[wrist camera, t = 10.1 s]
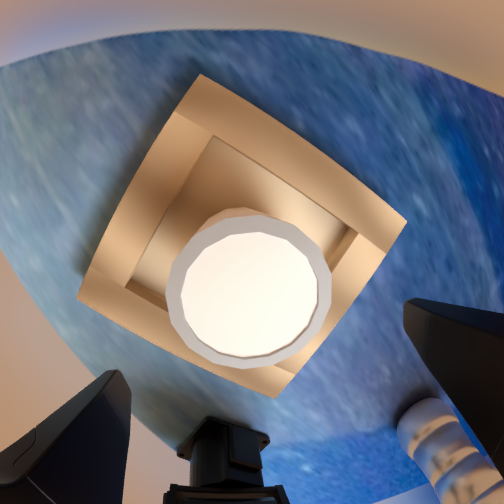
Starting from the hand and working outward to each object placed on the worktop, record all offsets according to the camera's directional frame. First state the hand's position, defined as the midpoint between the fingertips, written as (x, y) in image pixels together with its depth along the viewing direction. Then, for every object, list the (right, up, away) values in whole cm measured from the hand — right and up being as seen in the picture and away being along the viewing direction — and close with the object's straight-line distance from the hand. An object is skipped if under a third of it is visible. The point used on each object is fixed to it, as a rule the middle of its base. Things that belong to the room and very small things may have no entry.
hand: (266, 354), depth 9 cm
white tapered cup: (-1, +3, +11) cm, 11 cm away
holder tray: (-1, +3, +11) cm, 12 cm away
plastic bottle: (+17, -14, +18) cm, 29 cm away
